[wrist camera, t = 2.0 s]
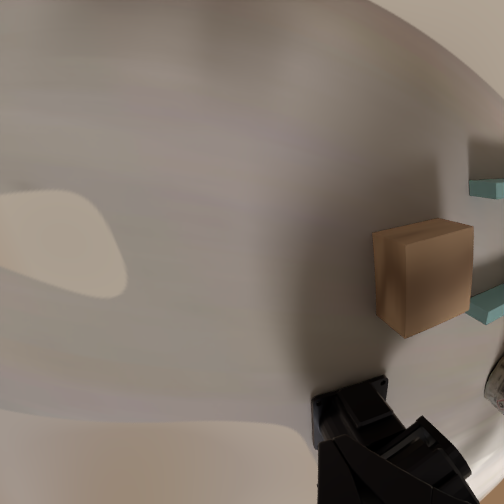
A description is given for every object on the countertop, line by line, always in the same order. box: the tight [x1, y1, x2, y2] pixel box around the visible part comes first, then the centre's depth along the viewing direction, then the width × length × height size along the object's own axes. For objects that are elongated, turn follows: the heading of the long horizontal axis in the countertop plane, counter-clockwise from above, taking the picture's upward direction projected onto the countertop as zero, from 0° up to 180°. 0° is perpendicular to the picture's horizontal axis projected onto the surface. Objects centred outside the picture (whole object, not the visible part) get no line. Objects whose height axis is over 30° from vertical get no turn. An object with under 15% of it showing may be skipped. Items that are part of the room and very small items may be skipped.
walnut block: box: [372, 218, 474, 339], centre depth 18 cm, size 6×6×4 cm
